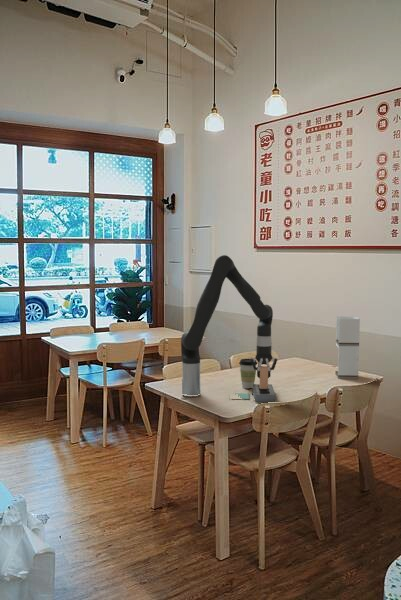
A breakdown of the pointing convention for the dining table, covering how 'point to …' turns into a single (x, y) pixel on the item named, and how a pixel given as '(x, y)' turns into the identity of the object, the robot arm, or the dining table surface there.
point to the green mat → (243, 395)
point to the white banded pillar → (347, 346)
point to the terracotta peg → (263, 377)
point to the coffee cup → (247, 373)
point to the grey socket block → (264, 394)
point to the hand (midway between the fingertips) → (263, 377)
